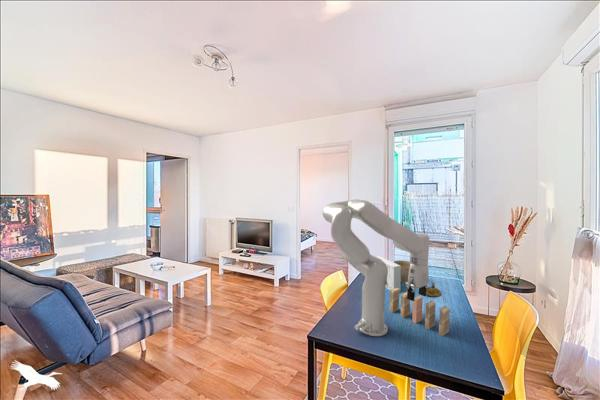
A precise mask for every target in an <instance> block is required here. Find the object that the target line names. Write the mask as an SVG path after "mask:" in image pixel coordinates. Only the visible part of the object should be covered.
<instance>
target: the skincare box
mask: <svg viewBox="0 0 600 400" xmlns="http://www.w3.org/2000/svg"><path fill="white" fill-rule="evenodd" d="M375 257H377V258H379V259H381V260H382V261H383V262H384V263H385V264H386V266H387V268H388V274H387V279H386V284H385V289H387V290H389V291H390V290H391V289H394V288H399V293H401V285H402V284H401V266H400V265H398V264H396V263H394V261H391V260H389V259H387V258H385V257H383V256H380V255H376V256H375Z"/></svg>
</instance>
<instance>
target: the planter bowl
mask: <svg viewBox="0 0 600 400" xmlns="http://www.w3.org/2000/svg"><path fill="white" fill-rule="evenodd" d="M393 262H394V263H396V264H398V265H400V266H401V282H402V283H406V282H407V281H408V274H409V268H410V260H409V261H408V260H394V261H393ZM401 282H400V283H401Z"/></svg>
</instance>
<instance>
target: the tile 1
mask: <svg viewBox="0 0 600 400" xmlns="http://www.w3.org/2000/svg"><path fill="white" fill-rule="evenodd" d="M410 313H411V300H409V299H407V291H405V292H403V293H401V294H400V317H402V318H407V317H408V316H410V315H411V314H410Z"/></svg>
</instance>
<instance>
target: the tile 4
mask: <svg viewBox="0 0 600 400" xmlns="http://www.w3.org/2000/svg"><path fill="white" fill-rule="evenodd" d="M450 314H451V307H450V306H447V305H444V306H442V307H441V308H439V319H438V320H439V321H438V335H439V336H442V337H444V336H445V335H447V334H448V333H449V332H450V316H451V315H450Z"/></svg>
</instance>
